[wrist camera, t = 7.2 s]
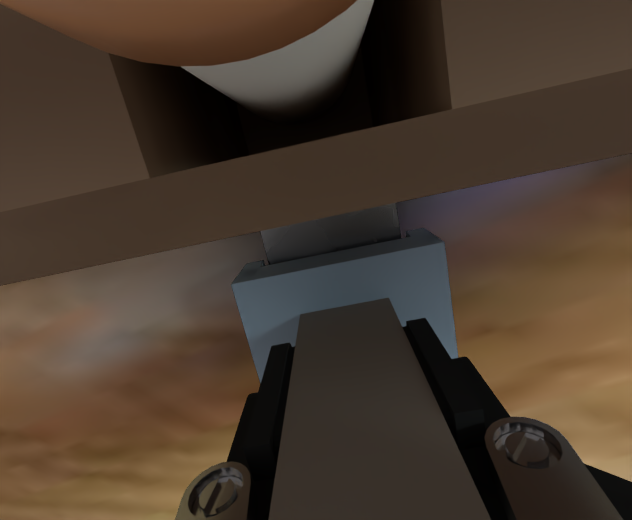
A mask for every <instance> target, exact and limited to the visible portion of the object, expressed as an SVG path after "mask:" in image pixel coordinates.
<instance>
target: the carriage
mask: <svg viewBox="0 0 632 520" xmlns="http://www.w3.org/2000/svg"><path fill="white" fill-rule="evenodd" d="M231 286H232V289H233V293H234V296H235V299H236V303H237V306H238V309H239V313H240V316H241V320H242V323H243V326H244V330H245V333H246V337H247V340H248V343H249V347H250V350H251V353H252V357H253V360H254V364H255V367H256V370H257V374H258V377H259V380H260V384H261V381H262V377H263V374H264V370H265V367H266V363H267V359H268V356H269V352H270V349H271V346H273V345H278V344H284V343H289V342H290V344H291V346H292V347H294V346H295V351H294V357H293V364H292V370H291V377H290V383H289V390H288V396H287V403H286V409H285V416H284V422H283V428H282V435H281V441H280V448H279V454H278V461H277V467H276V474H275V480H274V487H273V493H272V500H271V506H270V512H269V519H268V520H491V518H490V516H489V514H488V512H487V510H486V507H485V505H484V503H483V501H482V499H481V497H480V494H479V492H478V490H477V488H476V486H475V484H474V481H473V479H472V477H471V475H470V473H469V471H468V468H467V466H466V464H465V462H464V460H463V458H462V455H461V453H460V451H459V449H458V447H457V445H456V442H455V440H454V438H453V436H452V434H451V432H450V429H449V427H448V425H447V423H446V421H445V419H444V416H443V414H442V412H441V410H440V408H439V406H438V403H437V401H436V399H435V397H434V395H433V393H432V390H431V388H430V386H429V384H428V382H427V380H426V377H425V375H424V373H423V371H422V369H421V367H420V364H419V362H418V360H417V358H416V356H415V353H414V351H413V349H412V347H411V345H410V343H409V340H408V338H407V336H406V334H405V332H404V330H403V327H404V326H406V321H409V320H415V319H420V318H426V319H427V321H428V322H429V324H430V326H431V327H432V329H433V330H434V332H435V333H436V335H437V337H438V338H439V340H440V341H441V343H442V345H443V346H444V348H445V349H446V351H447V352H448V354H449V356H450V357H451V359H454V358H458V351H457V342H456V334H455V326H454V317H453V309H452V301H451V293H450V284H449V276H448V268H447V259H446V251H445V243H444V241H442V240H441V239H439V238H438V237H436V236H435V235H434V234H432V233H431V232H429V231H428V230H426V229H425V228H420V229H415V230H410V231H406V238H401V239H396V240H391V241H386V242H381V243H376V244H371V245H366V246H361V247H356V248H351V249H346V250H341V251H336V252H331V253H326V254H321V255H316V256H312V257H307V258H302V259H297V260H292V261H287V262H282V263H277V264H272V265H267V266H265V264H264V260H262V261H257V262H252V263H247V264H246V265H245V266H244V268H243V269H242V270H241V272H240V273H239V274H238V276H237V277H236V278H235V280H234V281H233V283H232V284H231Z"/></svg>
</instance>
